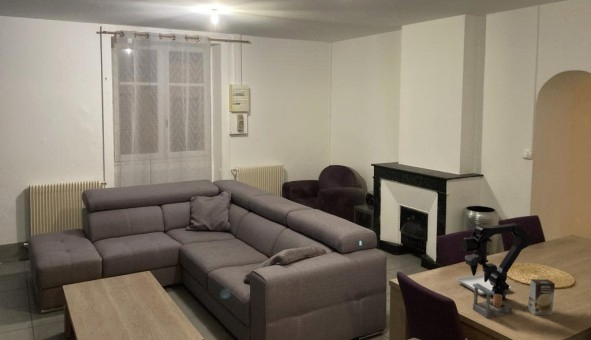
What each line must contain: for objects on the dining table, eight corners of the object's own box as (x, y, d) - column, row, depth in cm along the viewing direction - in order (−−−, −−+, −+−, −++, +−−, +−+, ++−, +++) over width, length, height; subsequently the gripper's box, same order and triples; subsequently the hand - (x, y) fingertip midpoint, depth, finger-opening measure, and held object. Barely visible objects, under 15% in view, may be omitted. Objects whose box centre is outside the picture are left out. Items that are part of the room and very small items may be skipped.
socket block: (496, 304, 254) (498, 280, 251) (513, 314, 242) (515, 289, 240) (471, 308, 249) (472, 284, 247) (487, 318, 238) (489, 293, 235)
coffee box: (534, 315, 241) (536, 284, 239) (527, 309, 248) (529, 279, 245) (552, 315, 242) (555, 283, 239) (545, 309, 248) (548, 278, 245)
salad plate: (512, 292, 270) (512, 286, 269) (480, 298, 262) (481, 292, 262) (484, 278, 289) (484, 273, 289) (454, 283, 282) (455, 278, 281)
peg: (497, 308, 249) (498, 293, 248) (502, 311, 245) (504, 296, 244) (490, 309, 248) (491, 294, 246) (496, 312, 244) (497, 297, 243)
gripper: (456, 246, 260) (455, 274, 263) (480, 257, 243) (478, 287, 245) (474, 243, 264) (472, 271, 266) (498, 254, 246) (496, 284, 249)
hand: (479, 278), depth 256 cm, fingers open, 9 cm apart
